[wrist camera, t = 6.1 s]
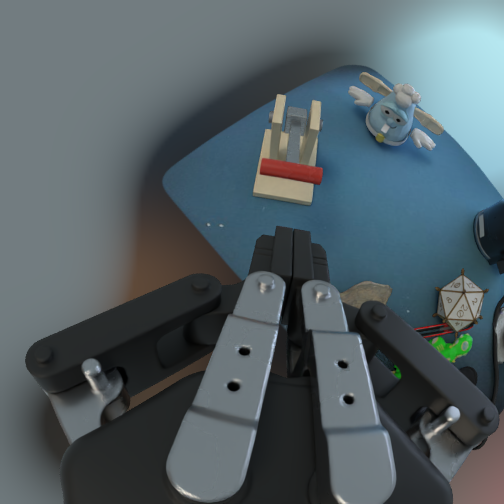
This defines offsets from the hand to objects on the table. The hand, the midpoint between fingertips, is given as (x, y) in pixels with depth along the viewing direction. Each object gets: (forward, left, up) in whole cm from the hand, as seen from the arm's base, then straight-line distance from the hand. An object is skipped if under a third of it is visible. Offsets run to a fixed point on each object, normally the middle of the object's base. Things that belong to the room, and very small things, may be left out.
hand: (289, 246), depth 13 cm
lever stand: (+16, -9, -24) cm, 31 cm away
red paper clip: (-15, -23, -24) cm, 37 cm away
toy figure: (+17, -28, -25) cm, 41 cm away
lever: (+11, -6, -12) cm, 18 cm away
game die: (-12, -25, -25) cm, 37 cm away
